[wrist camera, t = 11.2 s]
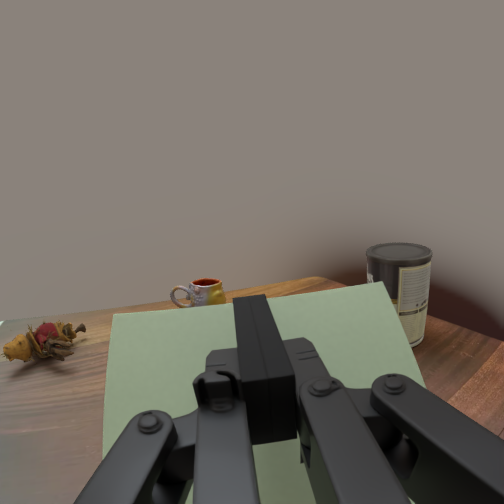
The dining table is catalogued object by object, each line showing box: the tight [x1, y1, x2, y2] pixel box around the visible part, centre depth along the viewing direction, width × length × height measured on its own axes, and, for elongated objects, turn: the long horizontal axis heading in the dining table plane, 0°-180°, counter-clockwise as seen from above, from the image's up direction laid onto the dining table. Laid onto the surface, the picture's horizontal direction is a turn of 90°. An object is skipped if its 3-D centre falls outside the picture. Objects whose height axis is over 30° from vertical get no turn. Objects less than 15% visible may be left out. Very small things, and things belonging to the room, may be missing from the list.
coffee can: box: [366, 243, 432, 348], centre depth 44 cm, size 10×10×14 cm
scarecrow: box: [1, 321, 86, 364], centre depth 45 cm, size 17×16×8 cm
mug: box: [170, 278, 226, 308], centre depth 64 cm, size 12×7×7 cm, turn 79°
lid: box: [103, 281, 426, 504], centre depth 12 cm, size 15×16×1 cm
